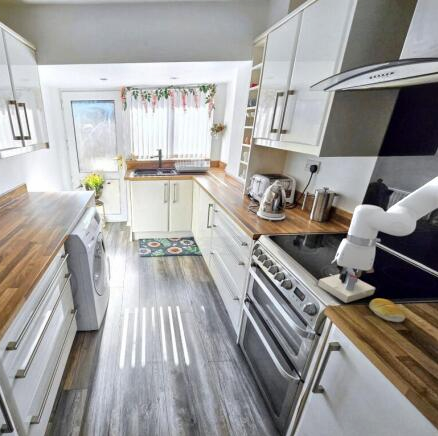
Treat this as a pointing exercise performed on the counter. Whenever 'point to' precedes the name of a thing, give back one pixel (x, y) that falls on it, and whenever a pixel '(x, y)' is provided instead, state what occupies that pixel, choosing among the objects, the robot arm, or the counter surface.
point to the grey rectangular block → (350, 279)
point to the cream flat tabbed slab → (338, 289)
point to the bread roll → (387, 310)
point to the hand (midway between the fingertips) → (346, 281)
